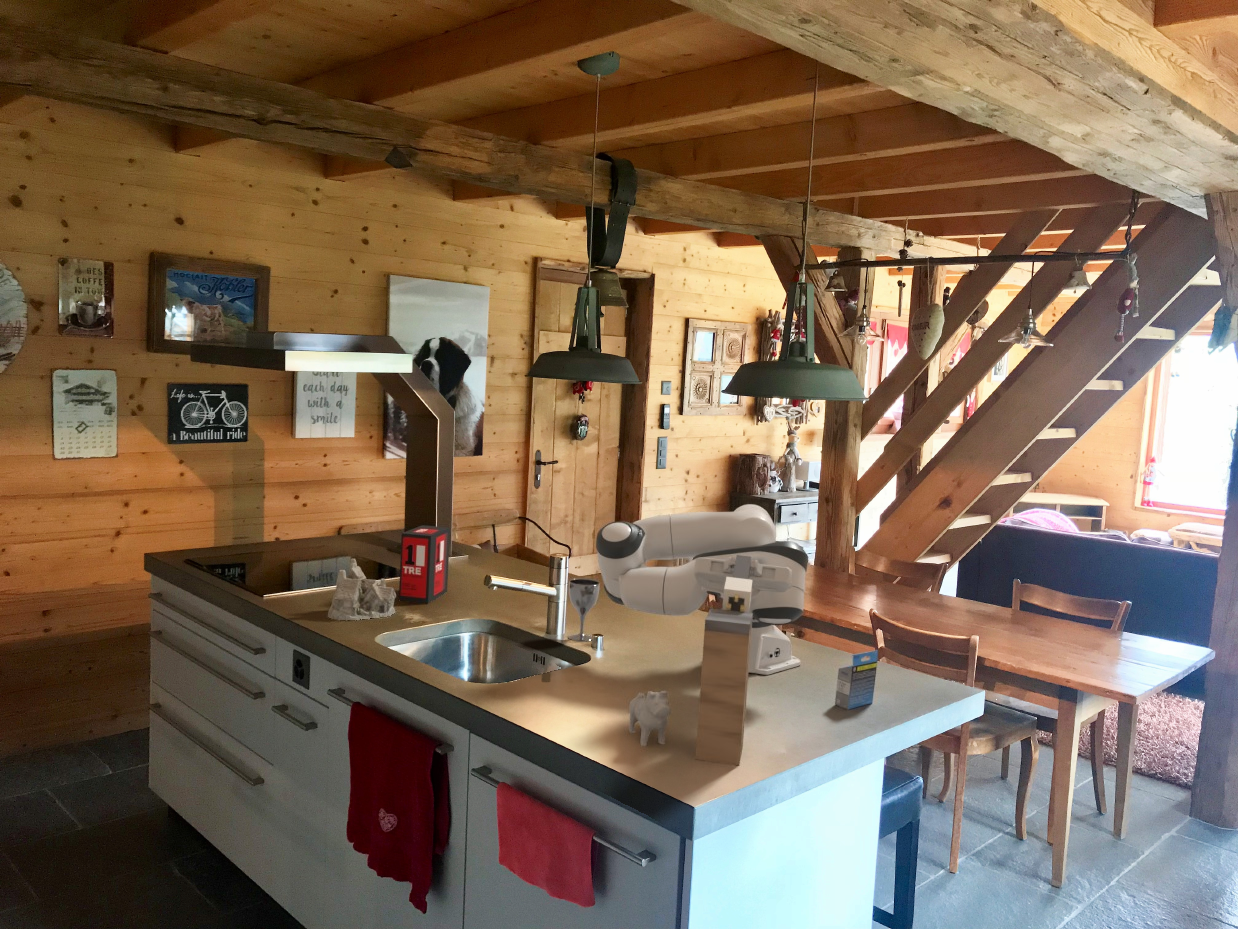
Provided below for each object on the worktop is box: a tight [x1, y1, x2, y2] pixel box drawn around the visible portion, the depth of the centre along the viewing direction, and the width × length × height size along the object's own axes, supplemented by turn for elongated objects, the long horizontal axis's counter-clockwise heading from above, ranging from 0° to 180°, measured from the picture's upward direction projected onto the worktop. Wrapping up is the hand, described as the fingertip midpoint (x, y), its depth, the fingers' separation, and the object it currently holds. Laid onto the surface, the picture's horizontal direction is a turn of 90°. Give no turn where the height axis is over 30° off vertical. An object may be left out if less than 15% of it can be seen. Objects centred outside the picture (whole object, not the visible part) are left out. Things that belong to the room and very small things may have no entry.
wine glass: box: [567, 577, 601, 643], centre depth 249 cm, size 8×8×15 cm
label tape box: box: [834, 649, 879, 711], centre depth 209 cm, size 9×4×12 cm, turn 128°
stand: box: [694, 607, 753, 766], centre depth 176 cm, size 9×8×26 cm
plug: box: [722, 555, 752, 612], centre depth 188 cm, size 20×5×4 cm, turn 169°
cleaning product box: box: [398, 525, 451, 605], centre depth 283 cm, size 16×9×20 cm, turn 171°
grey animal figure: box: [628, 690, 672, 747], centre depth 181 cm, size 5×13×11 cm, turn 20°
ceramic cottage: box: [327, 558, 397, 621], centre depth 259 cm, size 16×16×15 cm
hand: (742, 562), depth 194 cm, fingers open, 3 cm apart
